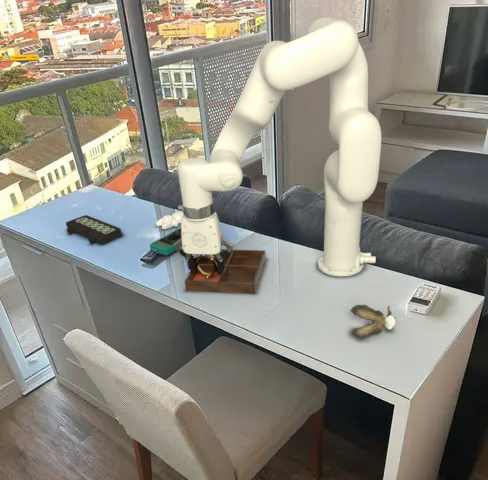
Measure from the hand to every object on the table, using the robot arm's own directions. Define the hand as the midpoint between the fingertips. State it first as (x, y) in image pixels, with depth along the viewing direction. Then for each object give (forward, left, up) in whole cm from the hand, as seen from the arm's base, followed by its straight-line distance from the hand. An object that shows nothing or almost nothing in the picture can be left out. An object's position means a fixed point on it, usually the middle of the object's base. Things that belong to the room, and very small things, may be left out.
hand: (206, 271), depth 132 cm
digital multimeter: (+17, -21, -4) cm, 27 cm away
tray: (-4, -4, -3) cm, 7 cm away
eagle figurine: (-43, +19, -4) cm, 47 cm away
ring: (0, 0, -2) cm, 2 cm away
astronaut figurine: (+23, -38, -4) cm, 45 cm away
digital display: (+48, -28, -4) cm, 56 cm away
